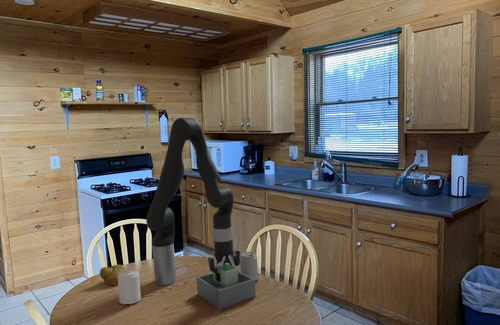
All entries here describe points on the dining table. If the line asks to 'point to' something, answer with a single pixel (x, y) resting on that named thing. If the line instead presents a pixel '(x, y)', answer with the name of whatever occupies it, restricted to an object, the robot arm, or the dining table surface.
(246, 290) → the big crate
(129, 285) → the white cylinder
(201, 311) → the dining table surface
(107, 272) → the bread roll
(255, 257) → the can
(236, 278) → the small crate
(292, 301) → the dining table surface
